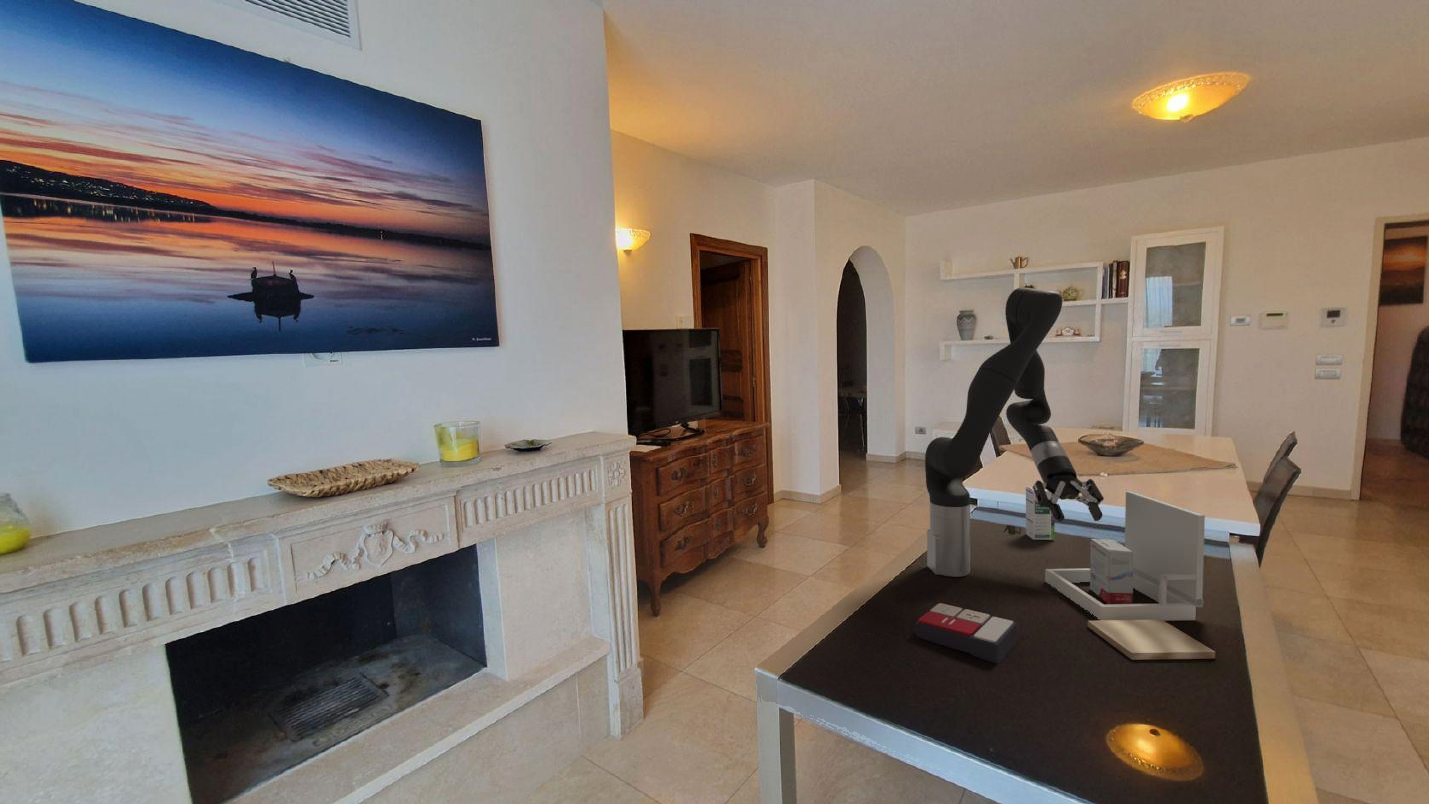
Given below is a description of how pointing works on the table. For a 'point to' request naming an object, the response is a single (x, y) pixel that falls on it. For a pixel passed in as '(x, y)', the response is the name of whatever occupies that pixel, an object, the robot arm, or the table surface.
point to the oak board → (1150, 639)
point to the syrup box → (1038, 517)
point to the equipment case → (1150, 564)
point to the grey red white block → (968, 631)
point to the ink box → (1111, 571)
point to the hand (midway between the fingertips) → (1080, 519)
